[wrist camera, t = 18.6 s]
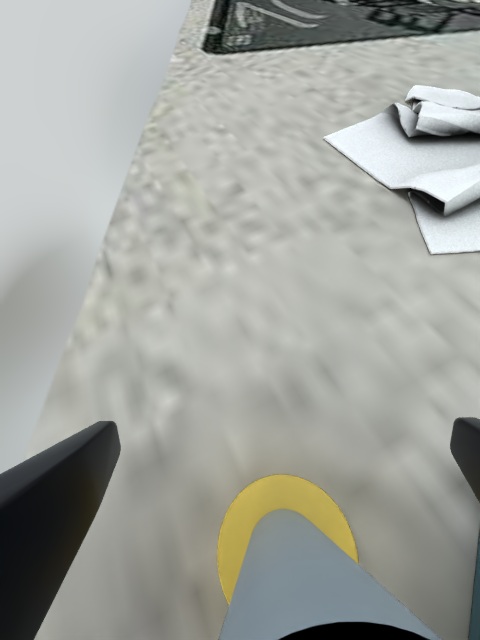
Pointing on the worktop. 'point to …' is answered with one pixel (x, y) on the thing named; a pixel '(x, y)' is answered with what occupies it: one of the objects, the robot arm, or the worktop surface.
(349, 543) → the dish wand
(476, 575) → the tray
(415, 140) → the cloth
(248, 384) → the worktop surface
